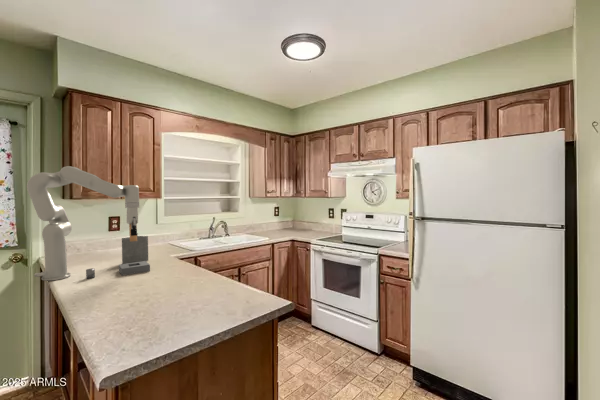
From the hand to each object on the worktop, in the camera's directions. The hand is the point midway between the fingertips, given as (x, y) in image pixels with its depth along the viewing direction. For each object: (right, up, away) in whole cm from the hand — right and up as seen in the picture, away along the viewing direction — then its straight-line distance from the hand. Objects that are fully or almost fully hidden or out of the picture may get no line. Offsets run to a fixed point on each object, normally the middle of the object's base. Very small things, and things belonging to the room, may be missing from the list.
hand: (133, 234), depth 178 cm
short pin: (-17, -23, -13) cm, 31 cm away
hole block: (0, -23, +1) cm, 23 cm away
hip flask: (-12, -22, +23) cm, 34 cm away
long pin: (0, -4, 0) cm, 4 cm away
